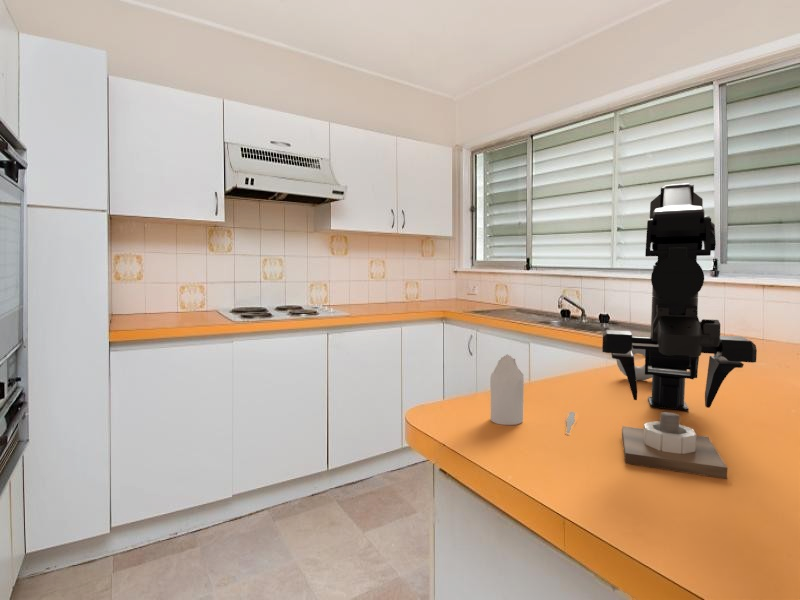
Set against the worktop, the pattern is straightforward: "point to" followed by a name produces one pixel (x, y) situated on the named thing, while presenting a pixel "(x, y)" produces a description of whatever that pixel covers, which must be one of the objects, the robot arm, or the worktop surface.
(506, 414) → the grey bullet shape
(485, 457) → the worktop surface
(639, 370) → the donut
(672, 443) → the ring
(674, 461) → the peg stand
